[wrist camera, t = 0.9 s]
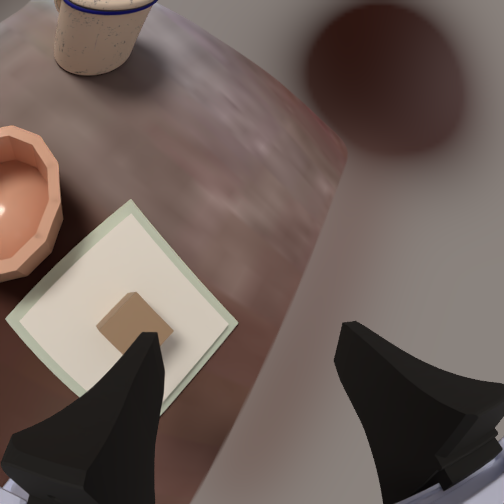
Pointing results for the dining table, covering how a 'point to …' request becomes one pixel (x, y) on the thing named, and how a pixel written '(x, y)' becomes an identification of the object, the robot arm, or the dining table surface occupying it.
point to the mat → (73, 258)
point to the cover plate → (103, 291)
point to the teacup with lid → (97, 33)
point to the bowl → (27, 202)
